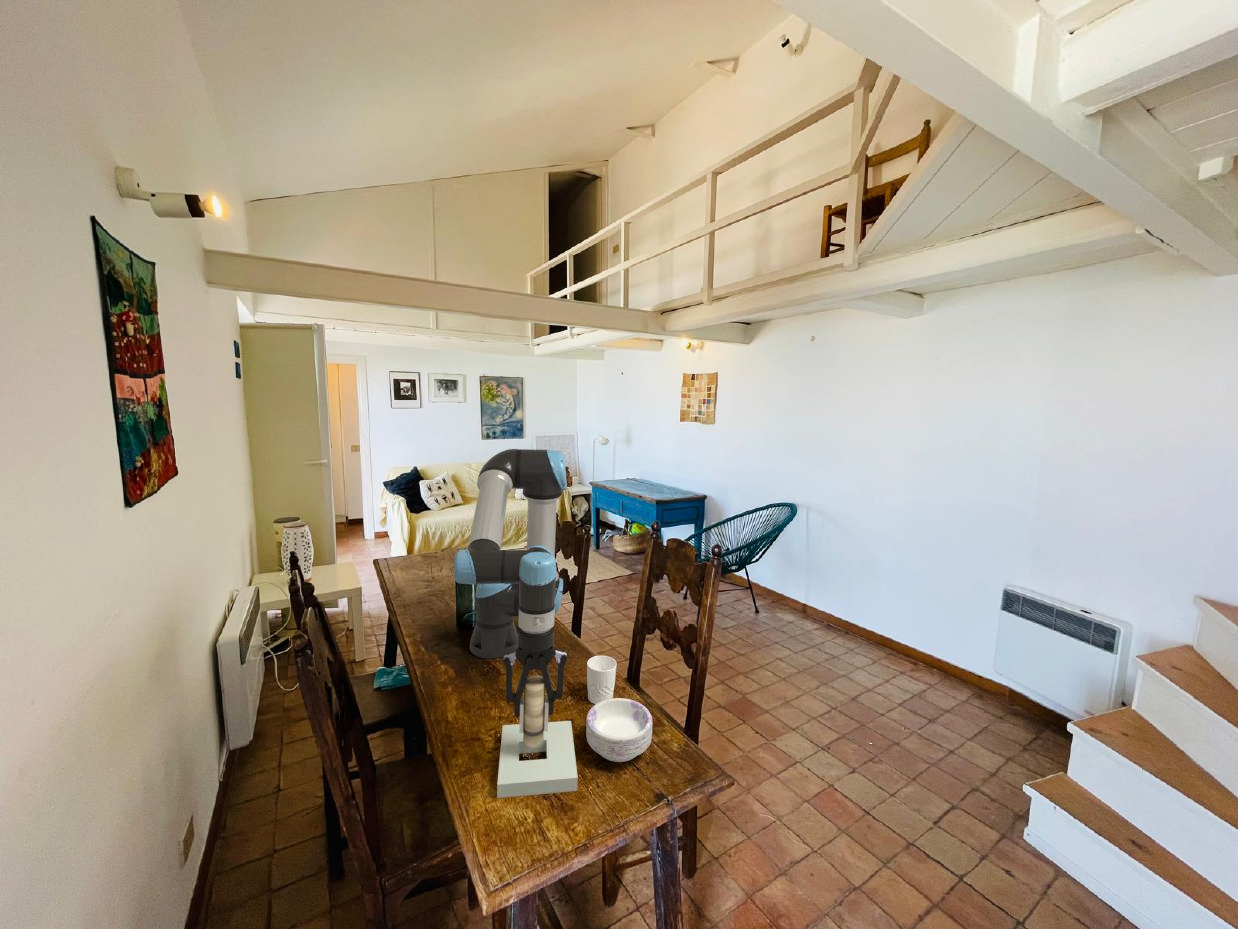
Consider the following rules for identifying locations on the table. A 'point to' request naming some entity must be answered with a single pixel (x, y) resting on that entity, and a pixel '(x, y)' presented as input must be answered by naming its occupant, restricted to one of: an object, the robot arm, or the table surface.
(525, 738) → the maple dowel
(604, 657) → the white cup
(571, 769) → the socket board
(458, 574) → the robot arm
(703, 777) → the table surface
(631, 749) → the paper bowls
